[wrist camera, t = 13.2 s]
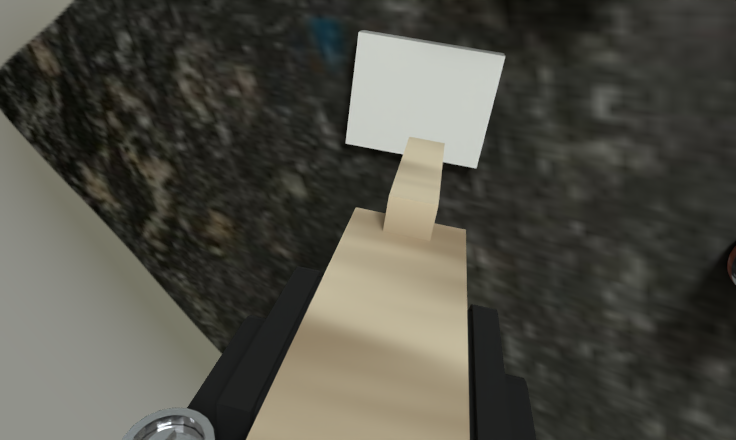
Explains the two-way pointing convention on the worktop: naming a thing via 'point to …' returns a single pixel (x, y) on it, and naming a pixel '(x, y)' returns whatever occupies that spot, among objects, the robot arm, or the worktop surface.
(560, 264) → the worktop surface
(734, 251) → the supplement bottle
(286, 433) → the wooden block with tab
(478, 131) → the tile
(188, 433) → the robot arm
